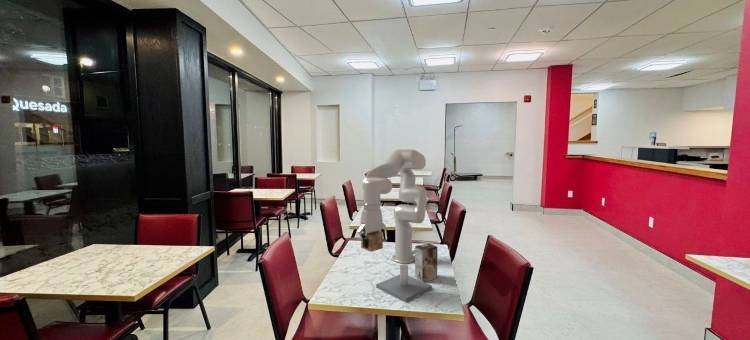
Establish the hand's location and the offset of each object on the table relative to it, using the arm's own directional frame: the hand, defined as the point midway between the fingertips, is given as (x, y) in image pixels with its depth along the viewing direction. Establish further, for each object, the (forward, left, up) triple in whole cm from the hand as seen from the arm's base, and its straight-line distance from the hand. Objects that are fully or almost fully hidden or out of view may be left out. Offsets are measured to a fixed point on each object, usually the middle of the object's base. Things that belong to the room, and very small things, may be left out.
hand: (372, 245), depth 142 cm
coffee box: (-26, +11, -20) cm, 34 cm away
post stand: (-10, +11, -19) cm, 24 cm away
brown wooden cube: (0, 0, -1) cm, 1 cm away
